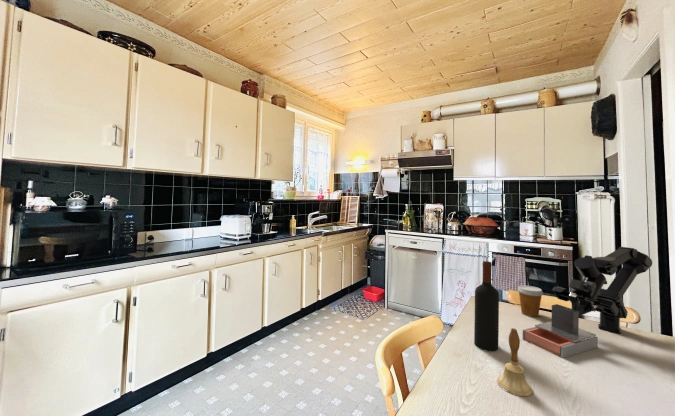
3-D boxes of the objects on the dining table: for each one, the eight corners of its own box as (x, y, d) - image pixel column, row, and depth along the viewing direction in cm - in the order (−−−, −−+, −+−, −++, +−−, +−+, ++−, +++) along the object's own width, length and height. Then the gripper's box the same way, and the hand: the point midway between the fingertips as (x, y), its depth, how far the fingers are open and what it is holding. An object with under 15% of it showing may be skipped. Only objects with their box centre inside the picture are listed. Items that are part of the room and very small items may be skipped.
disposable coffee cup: (548, 318, 119) (548, 291, 119) (526, 318, 119) (526, 291, 119) (532, 310, 129) (533, 285, 129) (512, 309, 129) (513, 285, 129)
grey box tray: (555, 330, 108) (555, 321, 108) (597, 347, 95) (597, 337, 95) (522, 339, 101) (522, 329, 101) (562, 358, 89) (563, 347, 89)
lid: (556, 321, 107) (556, 300, 107) (596, 336, 96) (596, 312, 96) (535, 326, 103) (535, 304, 103) (574, 342, 91) (574, 317, 91)
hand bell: (519, 400, 69) (520, 339, 69) (490, 381, 77) (490, 325, 77) (539, 391, 73) (540, 332, 72) (509, 373, 80) (510, 320, 80)
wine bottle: (475, 348, 94) (476, 263, 94) (473, 338, 101) (474, 259, 101) (500, 353, 91) (501, 265, 91) (496, 342, 98) (497, 260, 98)
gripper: (555, 266, 111) (537, 296, 108) (614, 278, 94) (595, 314, 90) (567, 283, 114) (549, 313, 111) (626, 298, 97) (608, 333, 93)
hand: (573, 317), depth 101 cm, fingers closed
